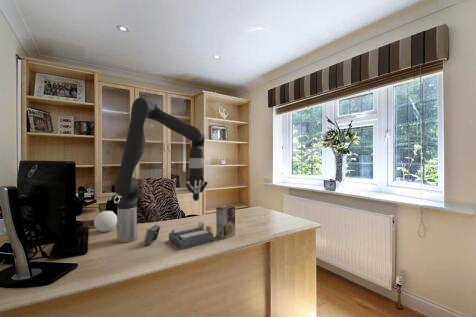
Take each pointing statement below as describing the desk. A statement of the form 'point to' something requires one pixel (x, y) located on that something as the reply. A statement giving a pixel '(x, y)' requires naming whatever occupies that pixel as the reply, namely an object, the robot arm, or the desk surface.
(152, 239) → the grey irregular chunk
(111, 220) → the decorative ball
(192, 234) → the near strap
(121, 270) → the desk surface
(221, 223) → the coffee box
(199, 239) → the clamp block
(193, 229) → the far strap
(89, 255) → the desk surface
